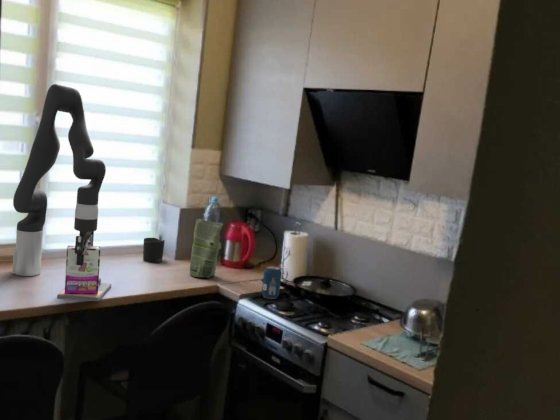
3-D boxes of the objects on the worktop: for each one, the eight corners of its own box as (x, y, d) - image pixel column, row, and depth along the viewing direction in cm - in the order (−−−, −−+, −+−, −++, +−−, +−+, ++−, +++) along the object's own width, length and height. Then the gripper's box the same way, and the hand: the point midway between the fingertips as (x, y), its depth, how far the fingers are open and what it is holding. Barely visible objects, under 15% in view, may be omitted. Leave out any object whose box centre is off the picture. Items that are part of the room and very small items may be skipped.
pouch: (188, 272, 249) (193, 216, 246) (214, 273, 253) (220, 218, 250) (191, 279, 239) (196, 220, 236) (219, 280, 242) (224, 222, 239)
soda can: (271, 293, 230) (274, 264, 229) (282, 298, 225) (285, 268, 223) (257, 295, 225) (260, 265, 224) (269, 300, 220) (272, 270, 219)
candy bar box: (97, 290, 204) (100, 246, 202) (98, 294, 199) (101, 249, 197) (64, 290, 200) (67, 244, 198) (64, 294, 195) (66, 247, 193)
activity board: (57, 298, 195) (57, 289, 195) (73, 283, 214) (73, 275, 213) (98, 301, 196) (99, 292, 196) (111, 286, 215) (111, 278, 215)
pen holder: (143, 262, 258) (144, 241, 256) (141, 258, 266) (142, 237, 265) (164, 263, 261) (165, 242, 260) (161, 258, 270) (163, 238, 268)
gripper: (92, 220, 189) (88, 268, 191) (102, 214, 203) (99, 258, 205) (69, 218, 189) (66, 266, 191) (81, 212, 203) (78, 256, 205)
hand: (83, 262), depth 198 cm, fingers open, 8 cm apart
